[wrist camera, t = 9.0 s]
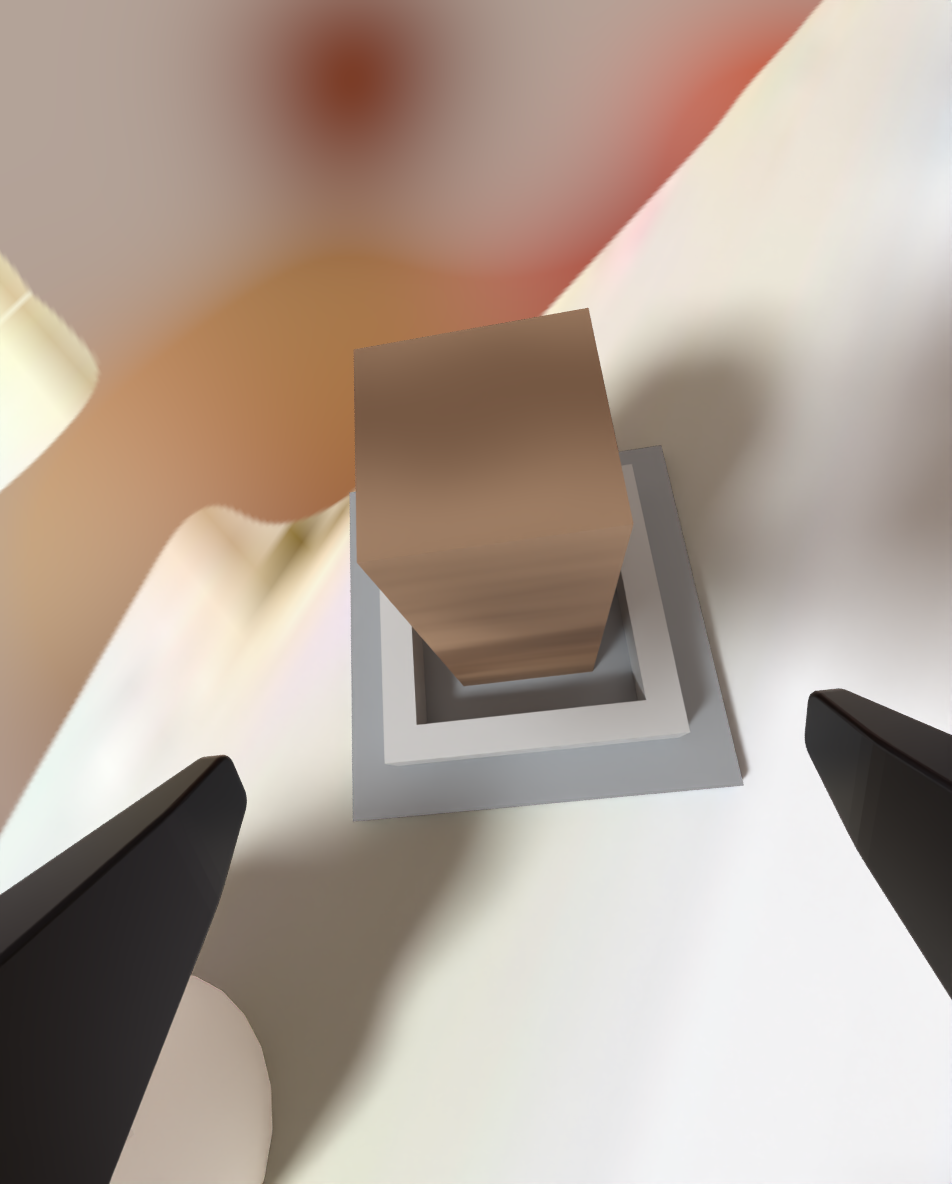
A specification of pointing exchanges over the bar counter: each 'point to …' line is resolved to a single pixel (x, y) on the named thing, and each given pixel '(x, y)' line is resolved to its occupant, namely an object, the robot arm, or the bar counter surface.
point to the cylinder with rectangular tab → (202, 1100)
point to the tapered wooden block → (493, 494)
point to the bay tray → (547, 694)
